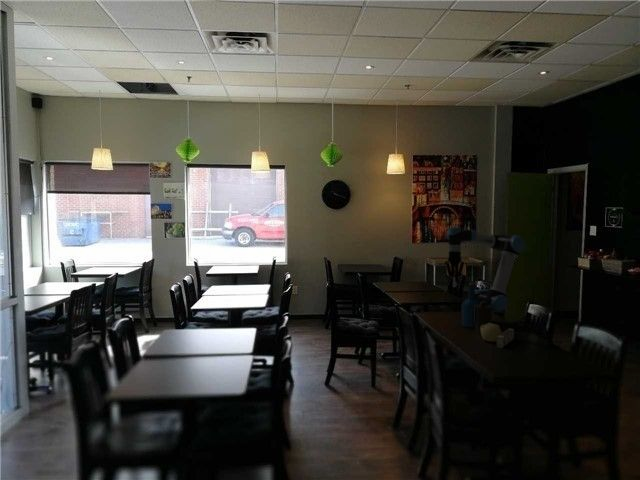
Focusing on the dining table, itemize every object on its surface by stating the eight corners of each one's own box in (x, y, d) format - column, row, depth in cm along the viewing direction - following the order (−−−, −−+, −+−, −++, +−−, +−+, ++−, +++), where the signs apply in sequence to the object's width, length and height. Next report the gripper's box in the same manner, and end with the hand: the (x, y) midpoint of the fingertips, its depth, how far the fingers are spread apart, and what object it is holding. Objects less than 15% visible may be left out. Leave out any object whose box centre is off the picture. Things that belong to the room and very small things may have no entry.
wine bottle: (484, 328, 308) (484, 283, 307) (464, 328, 309) (464, 284, 307) (478, 323, 322) (478, 280, 320) (459, 323, 322) (459, 281, 321)
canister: (489, 330, 302) (489, 300, 301) (493, 334, 292) (494, 303, 291) (472, 330, 303) (472, 300, 302) (476, 334, 293) (476, 303, 292)
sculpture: (496, 338, 284) (496, 320, 283) (504, 343, 272) (504, 325, 271) (478, 338, 284) (478, 321, 283) (485, 343, 272) (485, 325, 271)
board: (508, 338, 283) (508, 327, 283) (513, 338, 281) (513, 328, 281) (496, 347, 264) (496, 336, 264) (502, 348, 262) (502, 337, 262)
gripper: (442, 251, 300) (443, 286, 302) (462, 251, 292) (462, 288, 294) (447, 250, 306) (447, 285, 307) (466, 250, 298) (466, 286, 299)
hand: (454, 286), depth 301 cm, fingers closed
